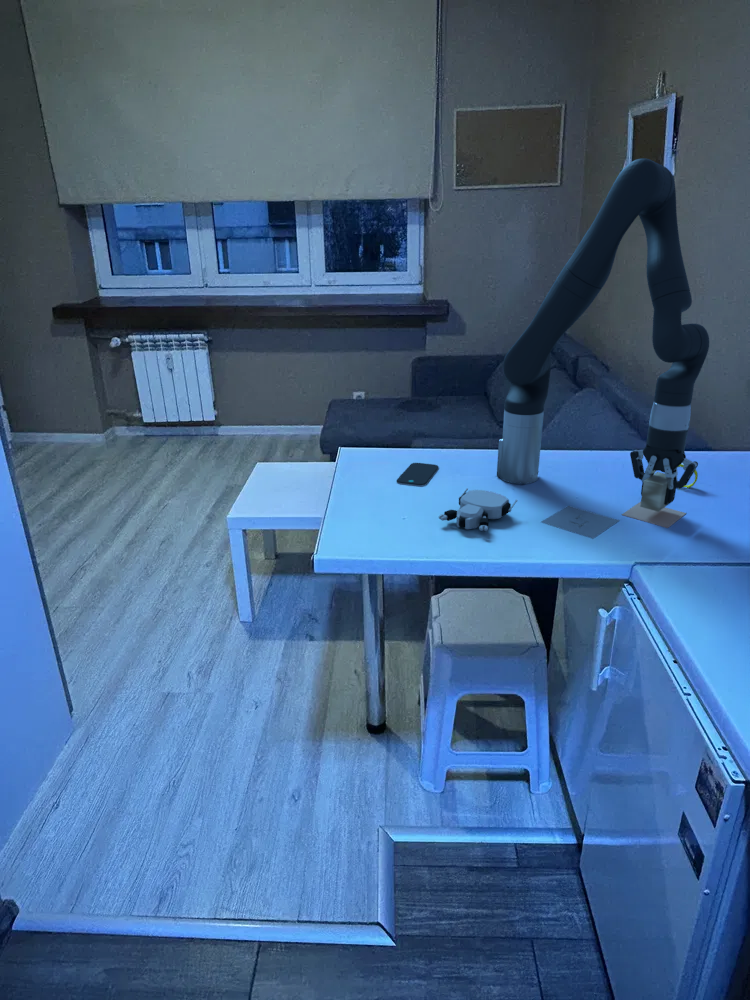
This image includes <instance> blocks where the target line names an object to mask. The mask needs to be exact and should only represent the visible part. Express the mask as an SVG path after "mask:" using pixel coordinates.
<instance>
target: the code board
mask: <svg viewBox="0 0 750 1000" xmlns="http://www.w3.org/2000/svg"><path fill="white" fill-rule="evenodd" d="M619 522H620V519H617V518H613V517H609V516H606V515H603V514H600V513H596V512H591V511H589V510H587V509H586V510H585V509H582V508H578V507H575V506H572V505H567V506H565V507H563V508H562V509H560V510H559V511H557V512H555V513H553V514H552V515H550V516H548V517H547V518H545V519H542V521H540V523H542V524H545V525H547V526H552V527H554V528H559V529H561V530H564V531H567V532H570V533H573V534H577V535H579V536H582V537H587V538H590V539H592V540H593V539H595V538H596V537H598V536H599V535H601V534H602V533H604V532H605V531H607V530H608V529H610V528H611V527H613V526H614V525H615V524H617V523H619Z"/></svg>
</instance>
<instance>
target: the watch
mask: <svg viewBox="0 0 750 1000" xmlns="http://www.w3.org/2000/svg"><path fill="white" fill-rule="evenodd" d="M683 467H684V464H683V463H681V464H680V465H679V466H678V467H677V469H678V468H683ZM693 475H694V476H695V477H694V481H693V482H692V483H690V484H687V485H685V486H684V487H687V488H686V489H689V488H691V487H693V486H694V485H695V484H696V483H697V481H698V476H699V474H698V471H697V469H696V470H695V471H694V473H693Z"/></svg>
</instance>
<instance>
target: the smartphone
mask: <svg viewBox="0 0 750 1000" xmlns="http://www.w3.org/2000/svg"><path fill="white" fill-rule="evenodd" d="M439 468H440V467H439V465H438V464H432V463H422V462H413V463H410V464H409V466H408V467H407V468H406V469H405V470H404V471H403V472H402V473H401V475H399V476H398V478H397V479H396V484H399V485H405V486H414V487H424V485H425V486H427V484H428V483H429V482H431V481H430V480H431V479H432V478H433V477H434V476H435V474H436V473H437V472H438V471H439Z"/></svg>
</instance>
